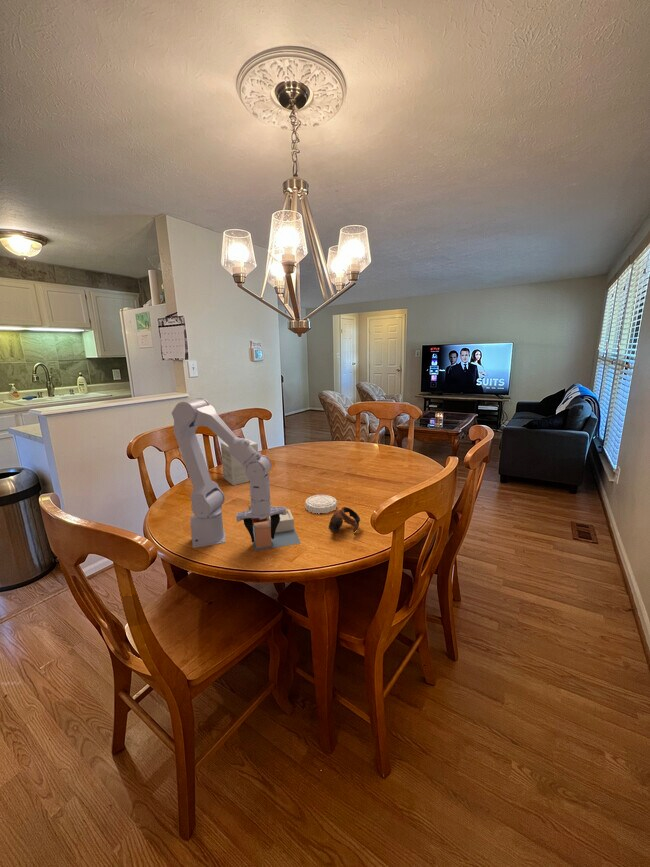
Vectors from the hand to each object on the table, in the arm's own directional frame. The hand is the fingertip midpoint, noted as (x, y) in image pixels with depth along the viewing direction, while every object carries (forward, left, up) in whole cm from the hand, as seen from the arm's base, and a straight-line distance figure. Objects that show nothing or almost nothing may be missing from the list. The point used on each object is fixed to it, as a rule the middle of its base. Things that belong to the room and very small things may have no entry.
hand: (262, 538), depth 102 cm
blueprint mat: (+4, +5, -2) cm, 7 cm away
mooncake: (+24, +19, -2) cm, 31 cm away
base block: (+7, +9, -2) cm, 12 cm away
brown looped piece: (+26, +1, -2) cm, 26 cm away
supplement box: (-3, +61, -2) cm, 61 cm away
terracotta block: (0, 0, -2) cm, 2 cm away
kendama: (+1, +22, -2) cm, 23 cm away
